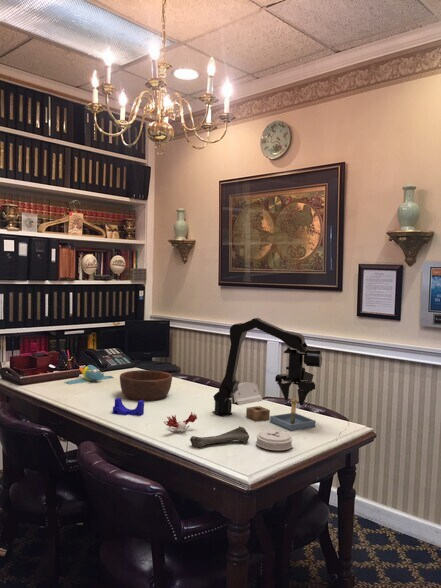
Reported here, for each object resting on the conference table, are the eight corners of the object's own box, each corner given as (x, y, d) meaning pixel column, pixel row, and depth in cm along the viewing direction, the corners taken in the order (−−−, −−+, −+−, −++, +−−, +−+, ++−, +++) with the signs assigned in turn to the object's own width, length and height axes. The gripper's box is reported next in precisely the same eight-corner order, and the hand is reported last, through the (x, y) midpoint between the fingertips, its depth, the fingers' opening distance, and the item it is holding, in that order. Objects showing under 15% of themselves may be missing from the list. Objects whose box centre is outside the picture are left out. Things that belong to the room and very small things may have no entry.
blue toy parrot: (105, 360, 282) (121, 365, 271) (105, 375, 282) (120, 381, 272) (60, 365, 261) (75, 371, 251) (59, 382, 262) (74, 388, 251)
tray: (290, 431, 193) (290, 424, 193) (270, 422, 204) (270, 416, 204) (315, 426, 200) (315, 420, 200) (294, 418, 211) (294, 412, 211)
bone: (244, 439, 182) (245, 423, 182) (252, 445, 176) (253, 428, 176) (188, 445, 174) (188, 428, 173) (194, 451, 168) (195, 434, 167)
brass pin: (292, 424, 200) (293, 400, 199) (286, 422, 203) (288, 398, 202) (298, 423, 202) (300, 399, 201) (293, 421, 204) (294, 397, 204)
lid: (282, 455, 167) (283, 441, 167) (249, 447, 174) (250, 433, 173) (297, 445, 177) (298, 432, 177) (266, 438, 184) (267, 425, 184)
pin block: (255, 421, 204) (256, 412, 204) (246, 417, 210) (246, 407, 210) (269, 419, 208) (269, 410, 208) (259, 415, 214) (259, 406, 214)
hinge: (238, 405, 228) (233, 383, 231) (231, 406, 232) (227, 385, 234) (263, 400, 239) (259, 379, 242) (256, 401, 243) (252, 381, 245)
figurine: (184, 423, 197) (185, 407, 197) (203, 431, 188) (204, 414, 188) (153, 430, 187) (153, 413, 187) (171, 439, 178) (172, 421, 178)
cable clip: (112, 414, 207) (113, 399, 206) (117, 411, 211) (118, 397, 211) (139, 417, 204) (139, 403, 203) (143, 414, 208) (144, 400, 208)
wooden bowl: (108, 398, 232) (109, 376, 231) (136, 387, 255) (137, 368, 255) (155, 405, 222) (156, 383, 222) (180, 394, 246) (181, 373, 245)
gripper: (326, 367, 198) (324, 406, 198) (295, 359, 213) (293, 395, 214) (305, 369, 192) (303, 409, 192) (275, 361, 207) (273, 398, 208)
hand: (293, 402), depth 202 cm, fingers open, 9 cm apart
